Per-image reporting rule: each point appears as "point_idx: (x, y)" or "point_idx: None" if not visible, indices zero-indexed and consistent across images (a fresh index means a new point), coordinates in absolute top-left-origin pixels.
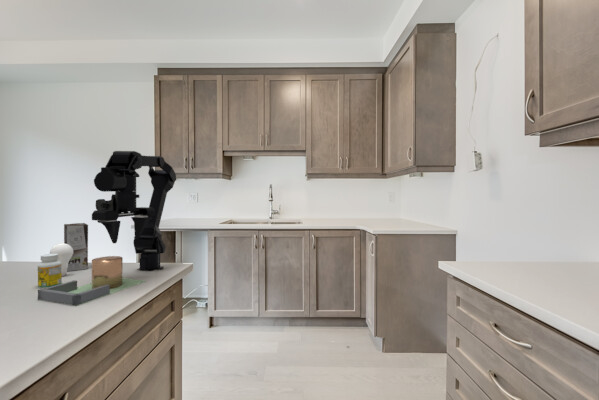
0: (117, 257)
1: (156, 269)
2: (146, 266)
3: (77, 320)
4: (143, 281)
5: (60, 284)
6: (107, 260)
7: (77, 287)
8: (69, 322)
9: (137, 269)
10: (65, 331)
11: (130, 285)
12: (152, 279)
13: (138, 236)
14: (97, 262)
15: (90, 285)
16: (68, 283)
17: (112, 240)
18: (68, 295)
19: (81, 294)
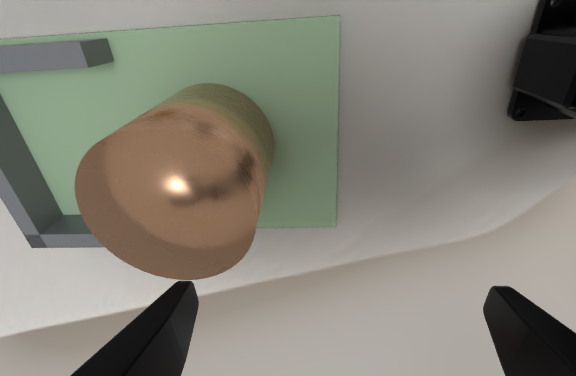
0: (225, 235)
1: (555, 119)
2: (533, 95)
3: (44, 284)
4: (325, 221)
5: (8, 58)
6: (143, 248)
7: (125, 33)
8: (28, 279)
9: (546, 2)
10: (14, 304)
11: (264, 217)
12: (386, 208)
13: (495, 343)
14: (92, 225)
15: (178, 63)
16: (46, 69)
17: (161, 308)
18: (17, 218)
19: (50, 246)
